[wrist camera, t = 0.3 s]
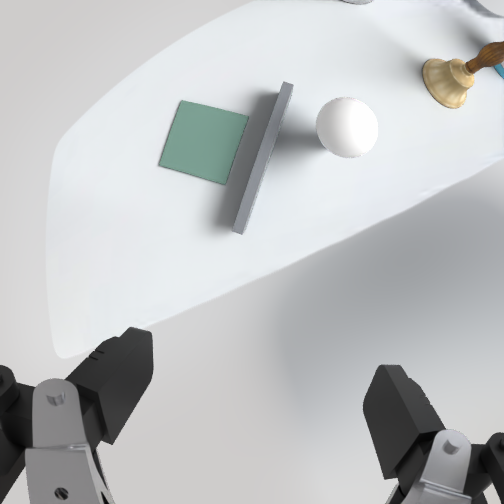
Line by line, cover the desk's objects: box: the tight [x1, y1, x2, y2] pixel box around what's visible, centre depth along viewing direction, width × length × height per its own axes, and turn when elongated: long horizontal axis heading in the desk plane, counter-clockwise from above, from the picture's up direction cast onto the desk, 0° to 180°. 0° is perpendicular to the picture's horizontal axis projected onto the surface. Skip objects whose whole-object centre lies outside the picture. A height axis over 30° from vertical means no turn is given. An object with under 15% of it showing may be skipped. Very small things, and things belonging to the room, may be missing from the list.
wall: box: [232, 82, 294, 234], centre depth 32 cm, size 18×1×4 cm, turn 162°
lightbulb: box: [316, 97, 378, 158], centre depth 27 cm, size 6×6×11 cm
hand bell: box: [423, 41, 504, 108], centre depth 21 cm, size 8×8×16 cm
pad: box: [159, 100, 249, 185], centre depth 33 cm, size 9×9×1 cm
